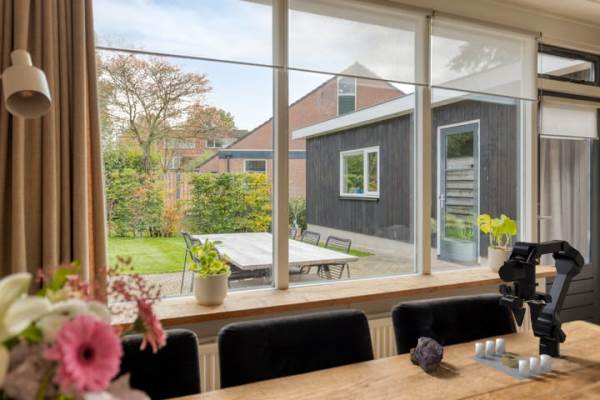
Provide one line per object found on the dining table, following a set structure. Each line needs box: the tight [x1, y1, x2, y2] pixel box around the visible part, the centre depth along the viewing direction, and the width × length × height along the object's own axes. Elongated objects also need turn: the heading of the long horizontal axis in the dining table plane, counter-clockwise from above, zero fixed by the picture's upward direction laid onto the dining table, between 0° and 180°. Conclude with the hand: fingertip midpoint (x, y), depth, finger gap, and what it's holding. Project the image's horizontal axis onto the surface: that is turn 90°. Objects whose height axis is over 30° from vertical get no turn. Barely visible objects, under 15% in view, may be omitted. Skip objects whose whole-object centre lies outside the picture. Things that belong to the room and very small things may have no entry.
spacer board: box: [468, 338, 555, 381], centre depth 140 cm, size 16×20×5 cm
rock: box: [409, 336, 444, 373], centre depth 141 cm, size 12×9×10 cm
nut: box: [502, 354, 519, 367], centre depth 140 cm, size 4×5×2 cm
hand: (526, 325), depth 143 cm, fingers open, 6 cm apart
